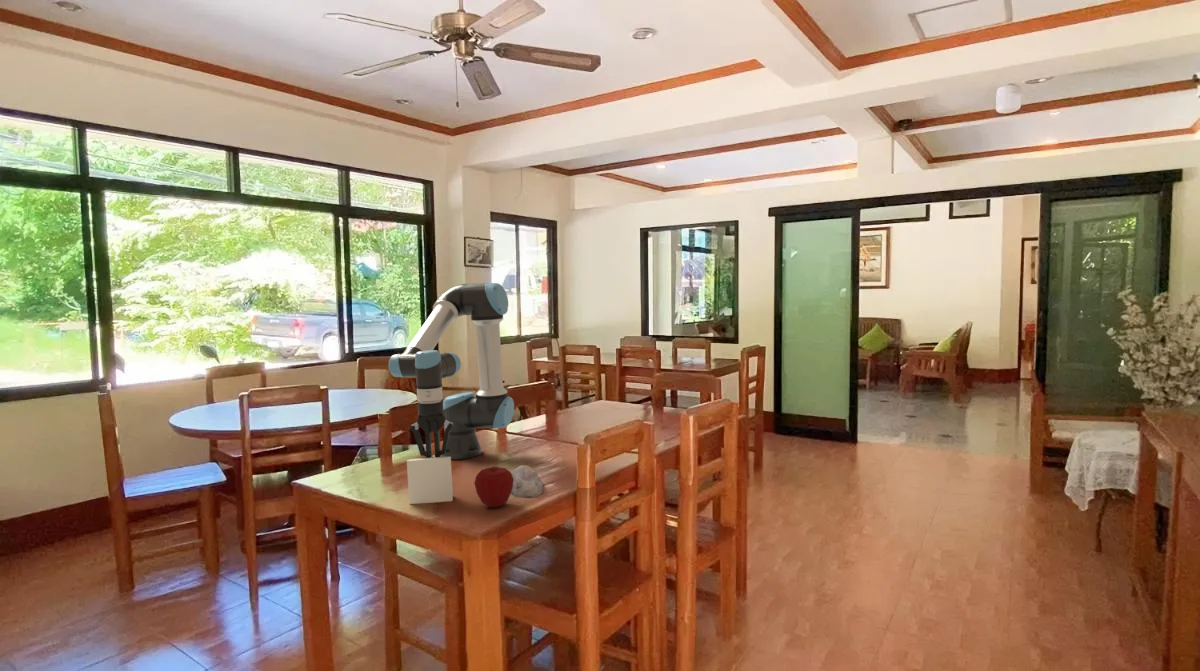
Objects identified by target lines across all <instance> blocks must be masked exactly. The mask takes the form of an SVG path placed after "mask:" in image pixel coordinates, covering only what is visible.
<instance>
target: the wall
mask: <svg viewBox="0 0 1200 671" xmlns="http://www.w3.org/2000/svg"><path fill="white" fill-rule="evenodd" d="M412 459H413V460H410V459H407V460H406V470H407V488H408V490H407V491H408V503H409V505H414V504H415V505H417V504H429V503H430V504H432V503H433V504H434V503H444V502H453V501H454V492H452V488H453V473H451V470H452V459H451V457H445V458H429V459H418V458H412Z"/></svg>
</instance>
